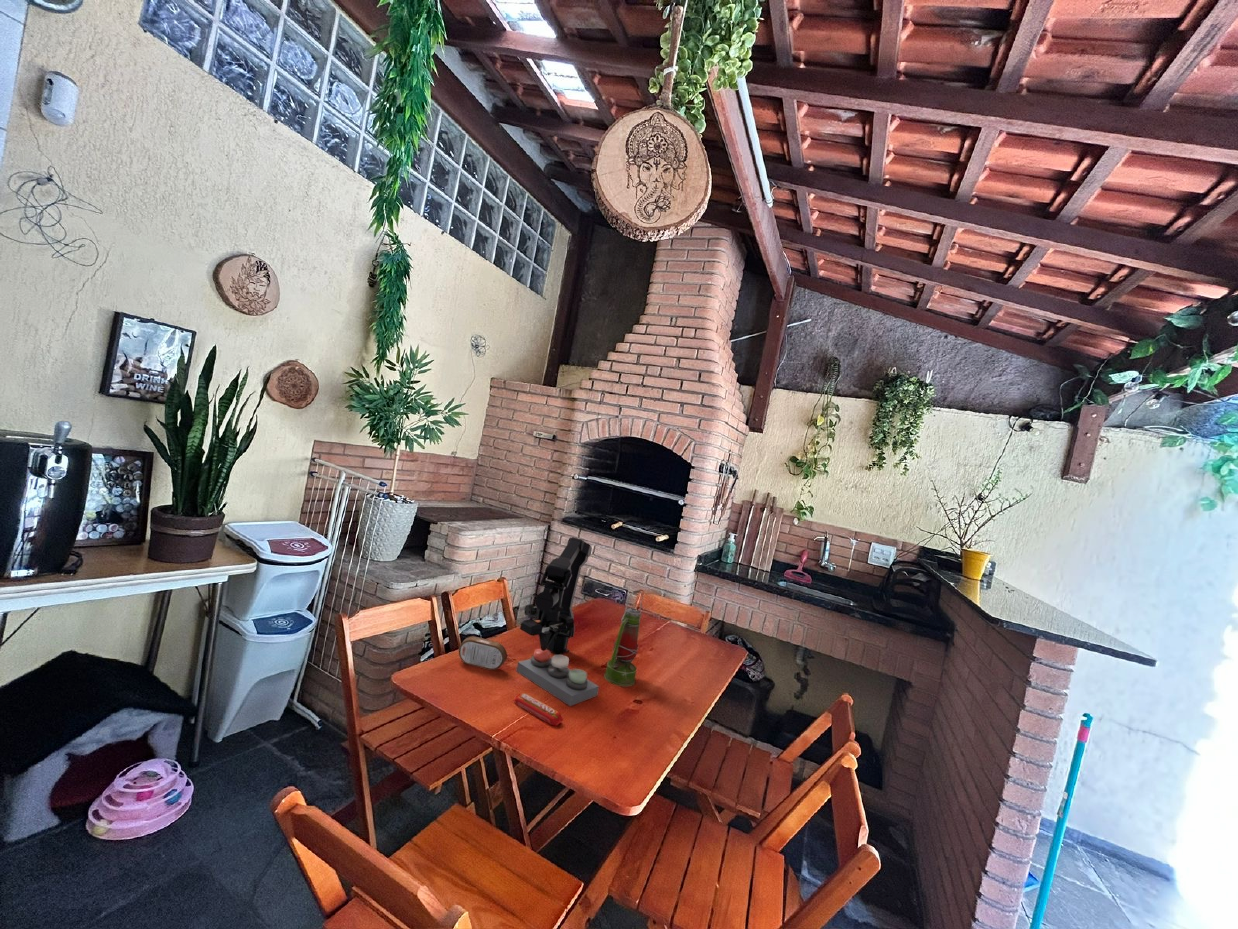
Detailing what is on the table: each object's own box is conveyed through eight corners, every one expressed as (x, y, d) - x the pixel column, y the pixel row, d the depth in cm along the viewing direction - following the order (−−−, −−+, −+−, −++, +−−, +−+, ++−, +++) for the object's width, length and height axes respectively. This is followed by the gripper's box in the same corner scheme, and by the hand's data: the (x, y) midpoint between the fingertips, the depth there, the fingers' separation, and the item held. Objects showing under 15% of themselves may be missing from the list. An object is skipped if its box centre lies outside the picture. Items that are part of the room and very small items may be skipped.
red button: (542, 653, 170) (543, 647, 170) (552, 659, 167) (554, 653, 167) (530, 656, 166) (531, 650, 166) (541, 663, 163) (542, 656, 163)
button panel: (544, 663, 174) (546, 650, 174) (597, 695, 159) (600, 681, 159) (516, 671, 165) (518, 657, 164) (569, 706, 150) (572, 691, 149)
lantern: (619, 690, 165) (637, 598, 164) (594, 676, 172) (611, 587, 171) (644, 680, 176) (661, 593, 175) (619, 667, 183) (636, 584, 182)
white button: (559, 659, 165) (560, 653, 165) (571, 666, 162) (572, 660, 162) (547, 662, 161) (549, 656, 161) (559, 669, 158) (560, 663, 158)
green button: (577, 674, 160) (578, 667, 160) (589, 681, 157) (590, 674, 157) (565, 677, 156) (566, 671, 156) (577, 685, 153) (578, 678, 153)
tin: (504, 670, 164) (509, 643, 164) (501, 674, 161) (506, 647, 161) (459, 659, 166) (464, 633, 165) (455, 662, 162) (460, 636, 162)
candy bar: (511, 704, 145) (513, 693, 145) (520, 700, 148) (522, 689, 148) (555, 729, 137) (557, 718, 137) (563, 725, 140) (566, 714, 140)
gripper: (555, 591, 178) (547, 636, 179) (513, 597, 164) (504, 645, 164) (579, 602, 171) (570, 648, 172) (537, 609, 157) (527, 659, 157)
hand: (543, 650), depth 167 cm, fingers closed
